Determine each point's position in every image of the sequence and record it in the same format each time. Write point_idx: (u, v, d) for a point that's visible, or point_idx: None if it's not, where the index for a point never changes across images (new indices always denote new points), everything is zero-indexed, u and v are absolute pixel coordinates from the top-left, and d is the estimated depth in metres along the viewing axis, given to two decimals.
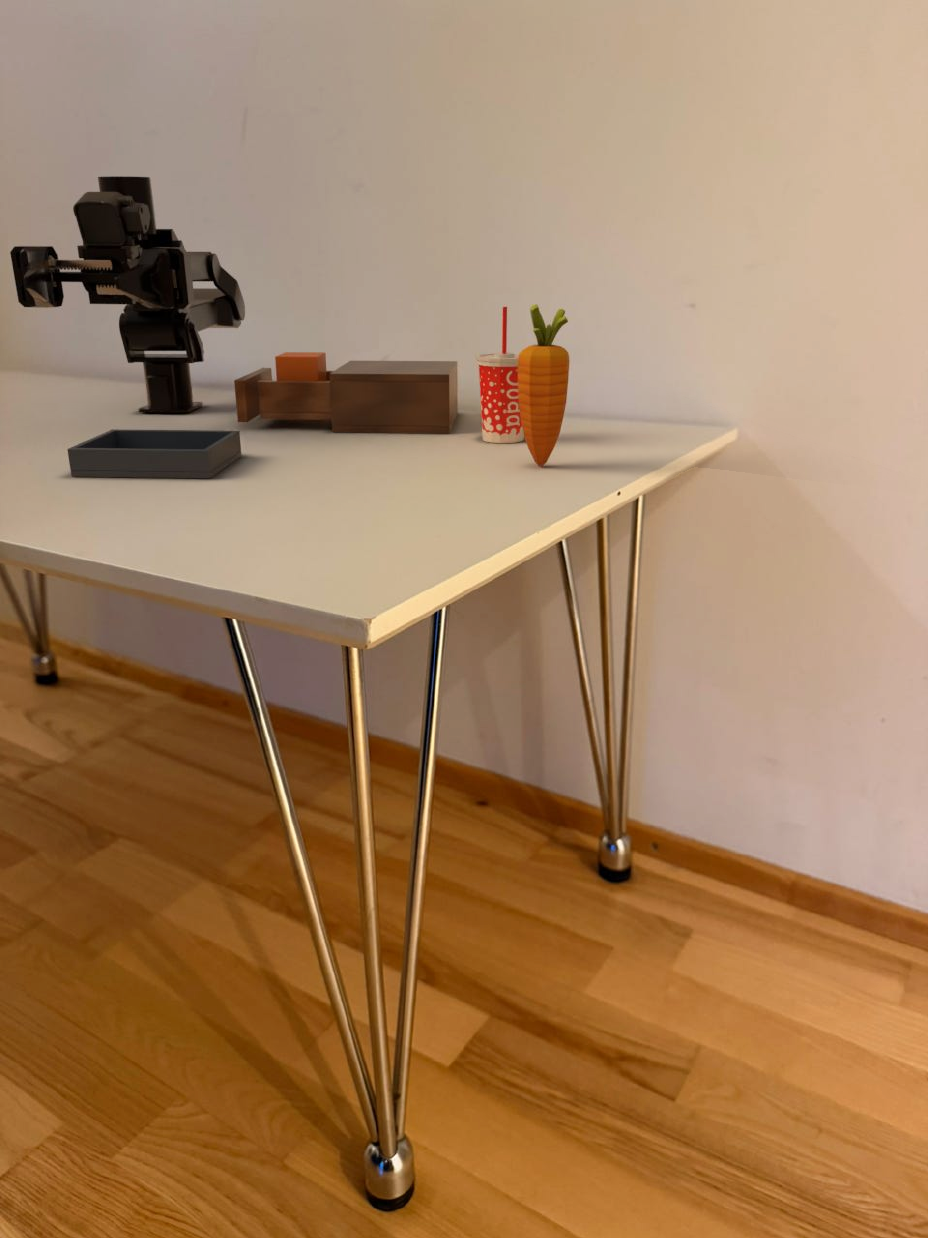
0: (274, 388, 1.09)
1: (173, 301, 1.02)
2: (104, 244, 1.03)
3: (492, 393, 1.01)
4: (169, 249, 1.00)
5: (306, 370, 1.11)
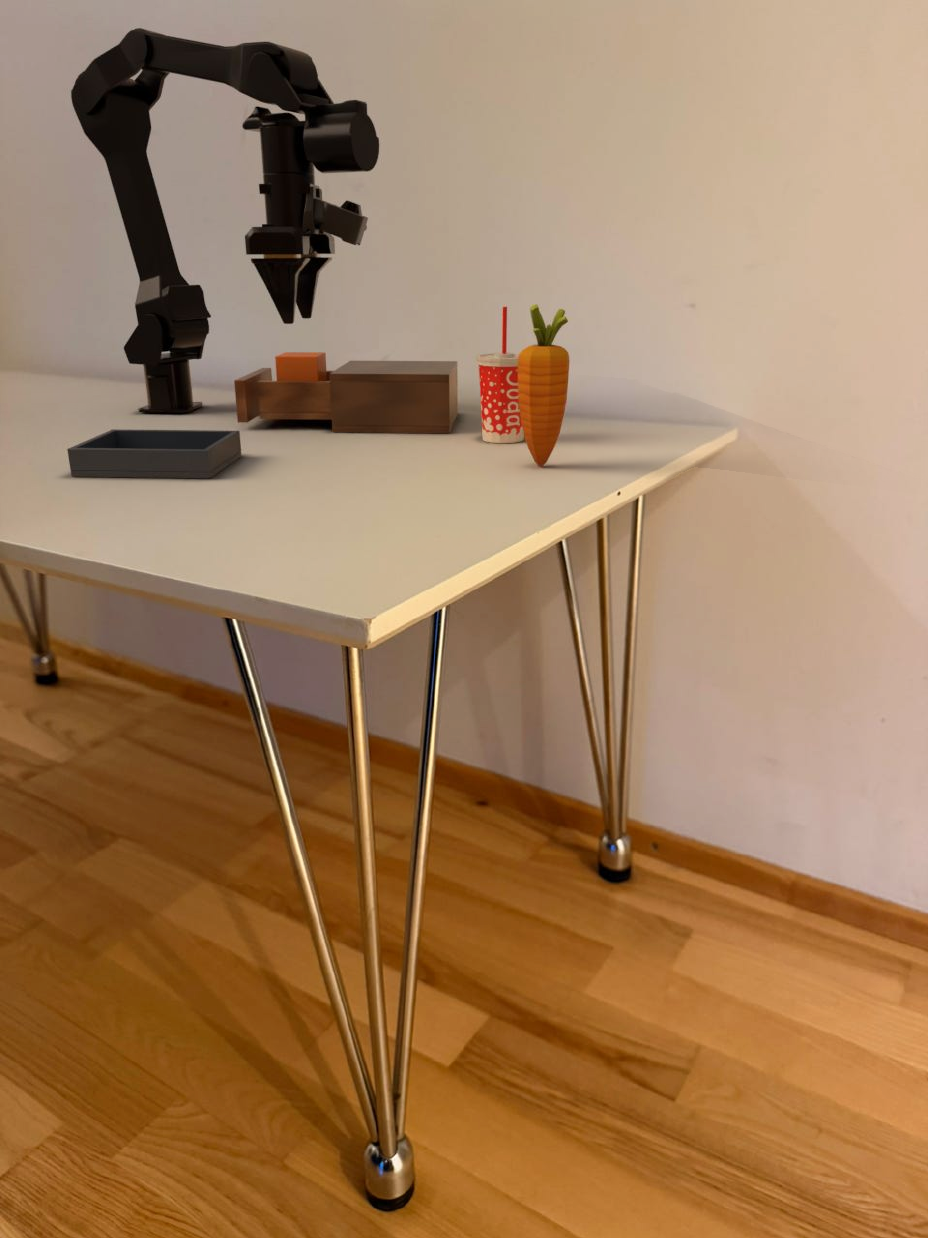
0: (274, 388, 1.09)
1: None
2: None
3: (492, 393, 1.01)
4: (332, 253, 1.16)
5: (306, 370, 1.11)
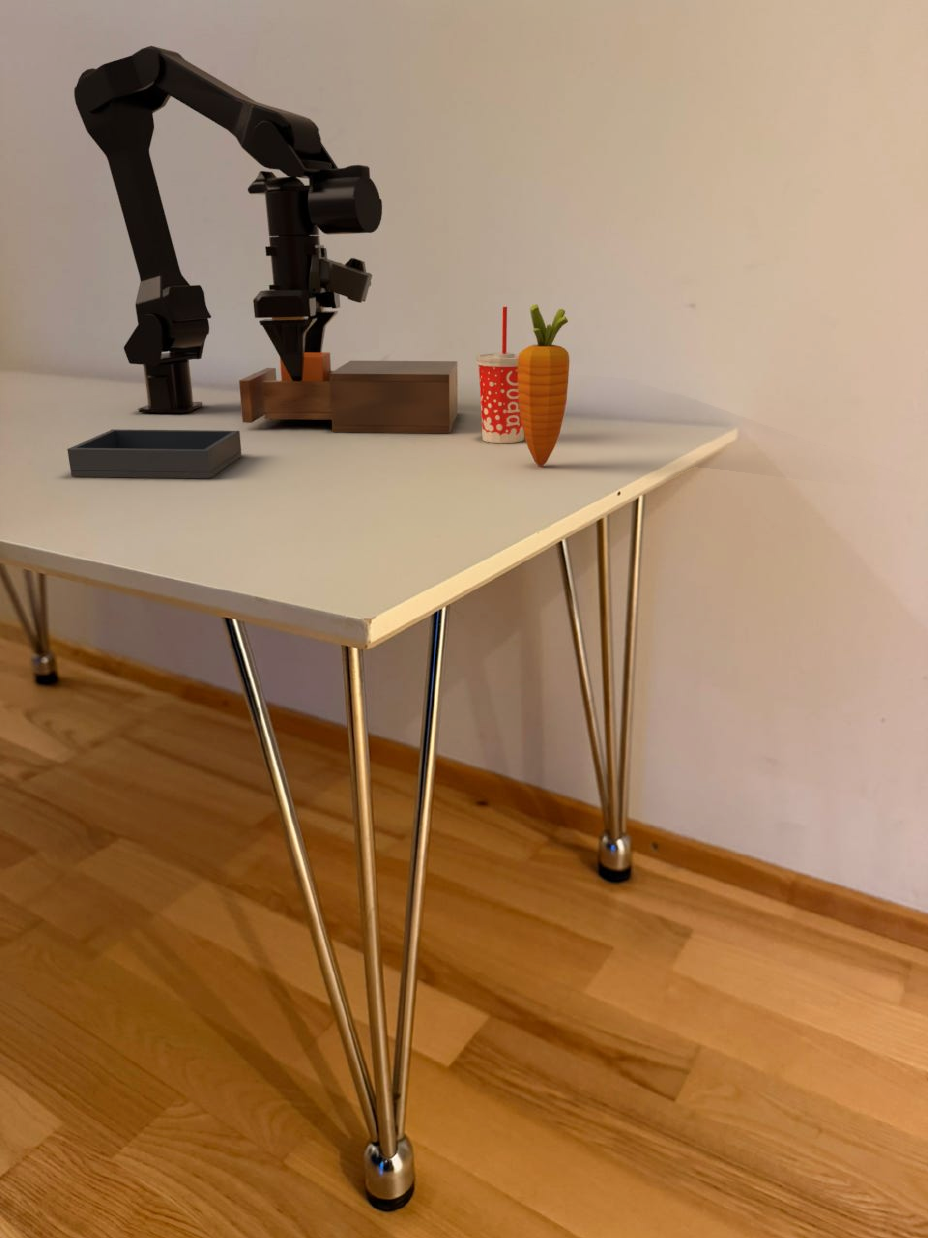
0: (279, 388, 1.09)
1: None
2: None
3: (492, 393, 1.01)
4: (337, 307, 1.19)
5: (311, 370, 1.11)
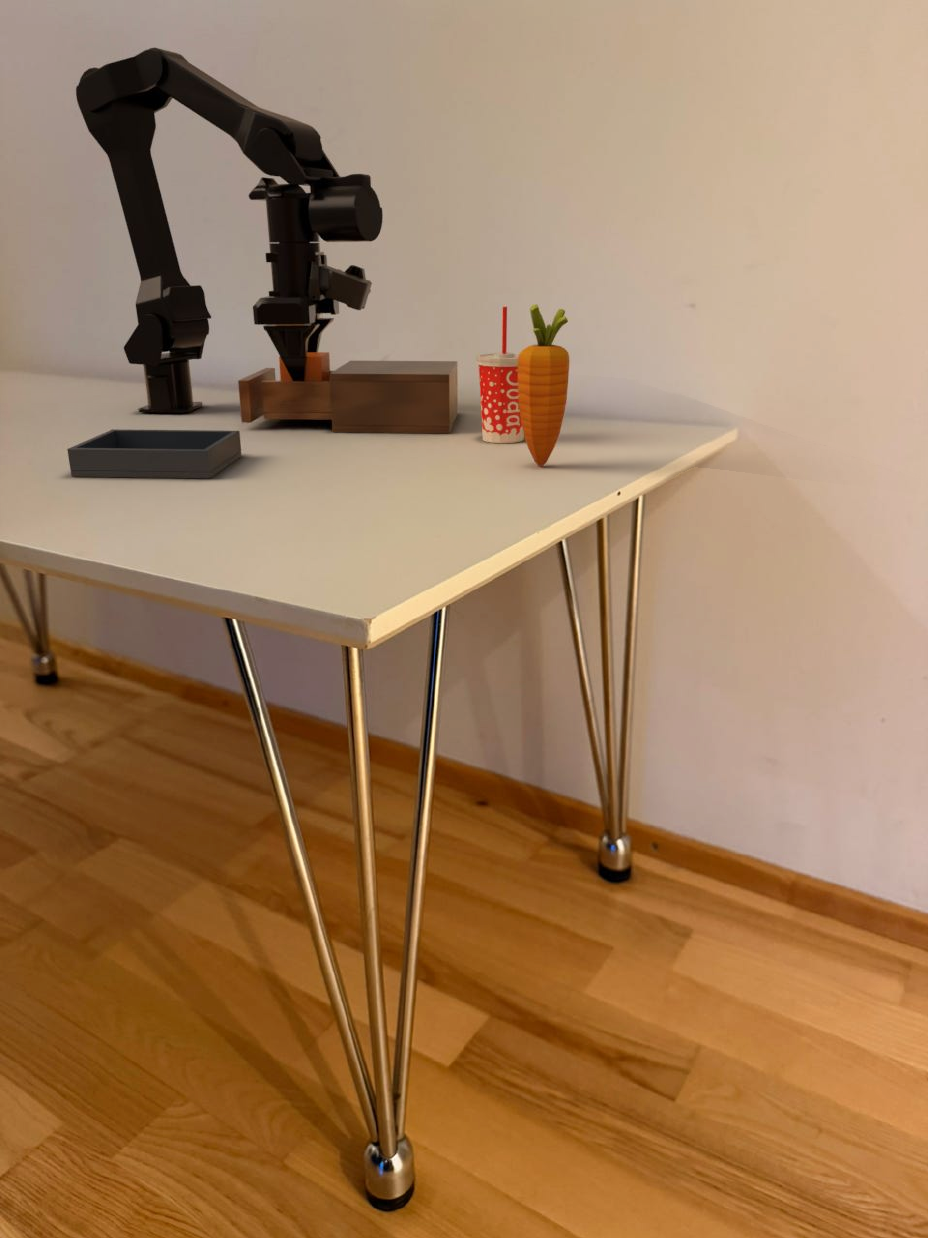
0: (278, 388, 1.09)
1: None
2: None
3: (492, 393, 1.01)
4: (336, 313, 1.19)
5: (310, 370, 1.12)
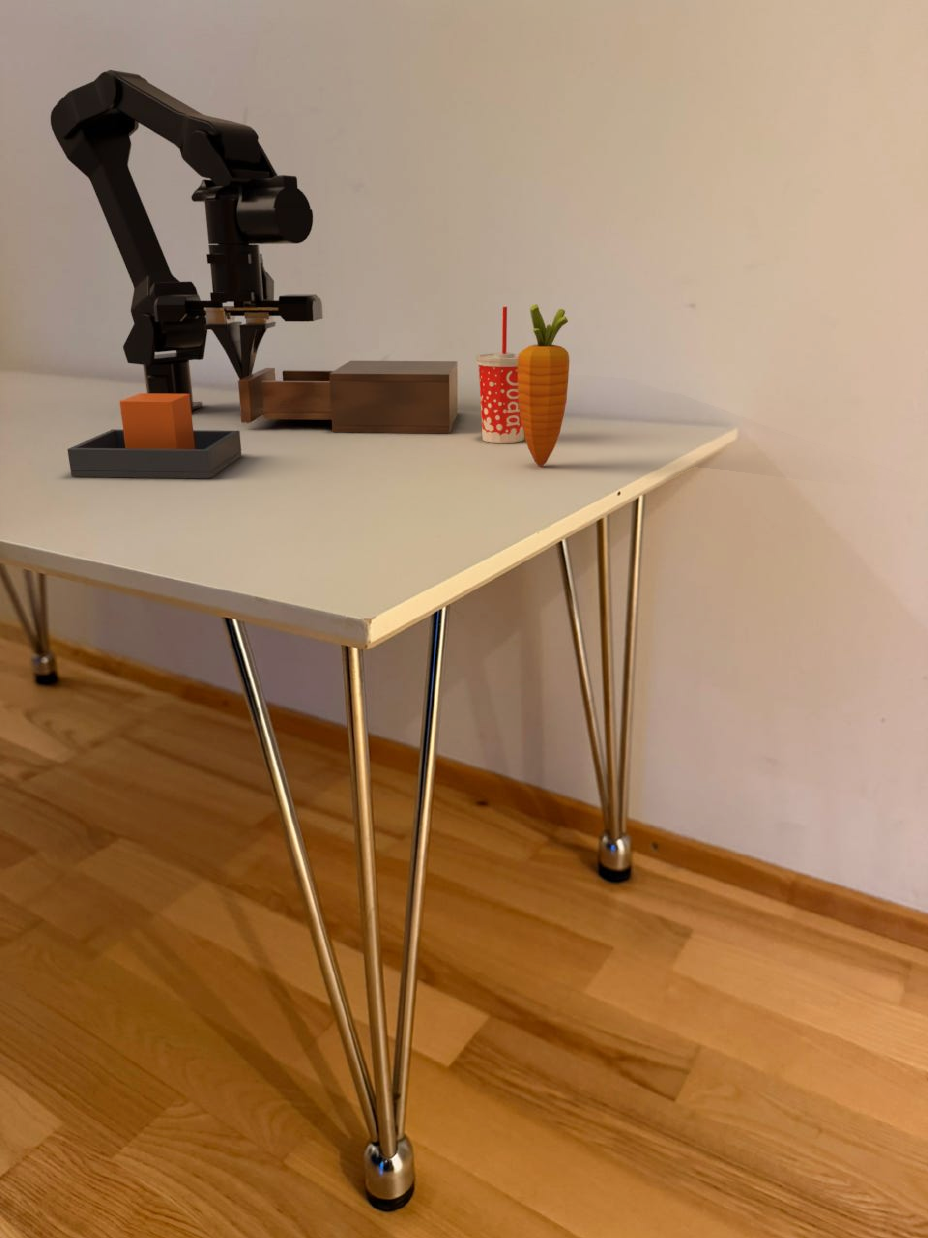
0: (278, 388, 1.09)
1: None
2: None
3: (492, 393, 1.01)
4: (183, 318, 1.15)
5: (160, 418, 0.88)
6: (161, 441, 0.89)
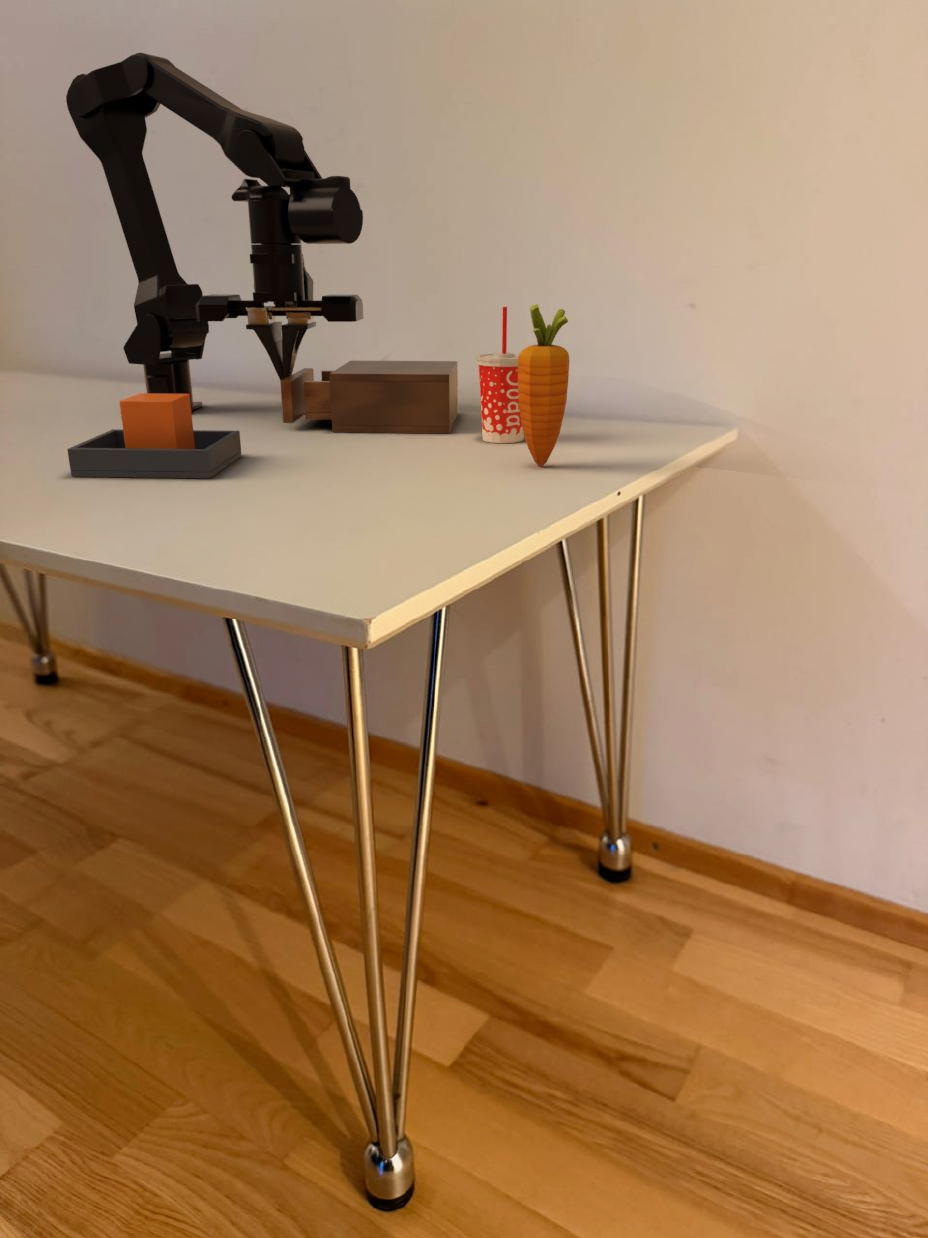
0: (320, 388, 1.09)
1: None
2: None
3: (492, 393, 1.01)
4: None
5: (160, 418, 0.88)
6: (161, 441, 0.89)
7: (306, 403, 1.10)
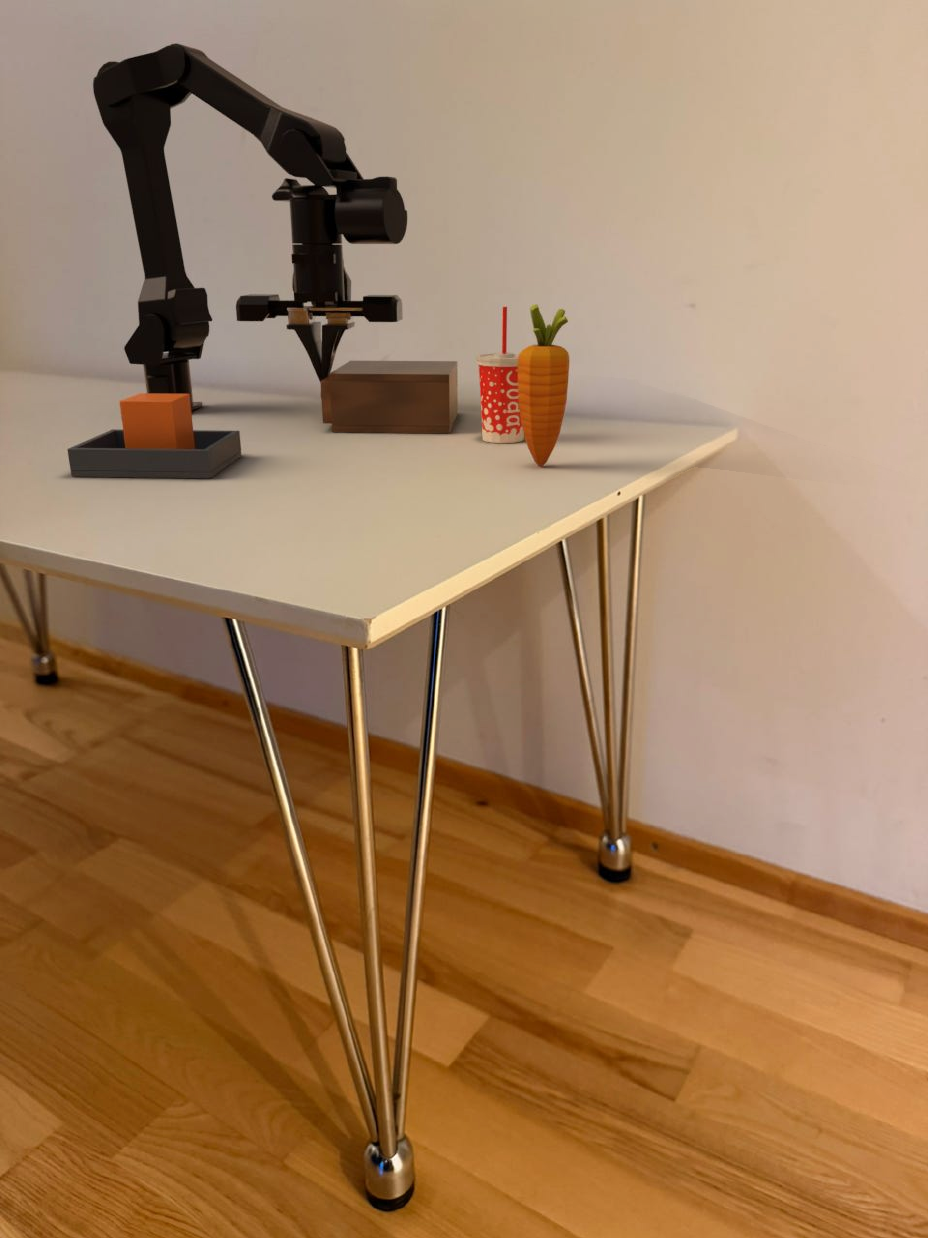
0: None
1: None
2: None
3: (492, 393, 1.01)
4: None
5: (160, 418, 0.88)
6: (161, 441, 0.89)
7: None
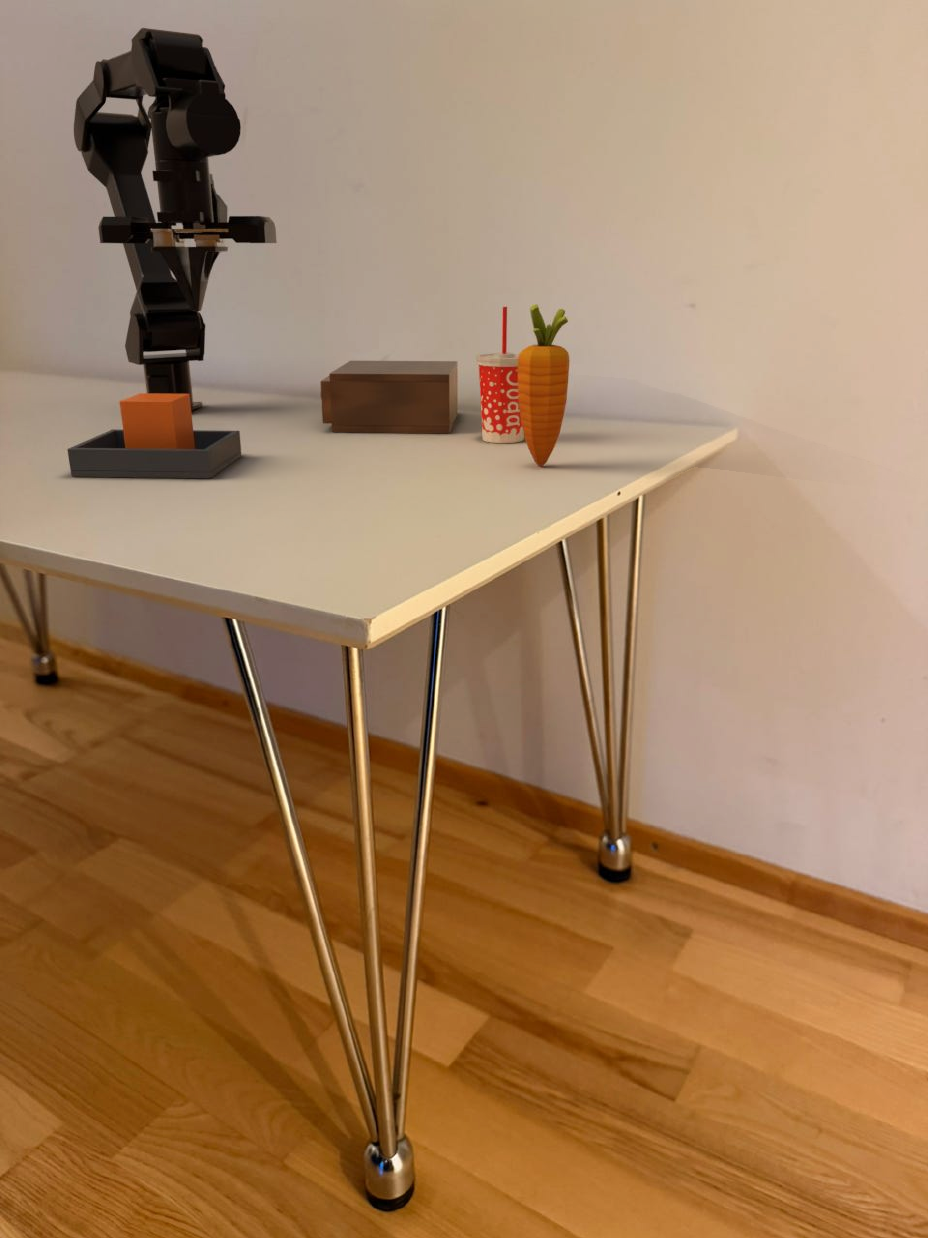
0: None
1: None
2: None
3: (492, 393, 1.01)
4: (132, 243, 1.11)
5: (160, 418, 0.88)
6: (161, 441, 0.89)
7: None
